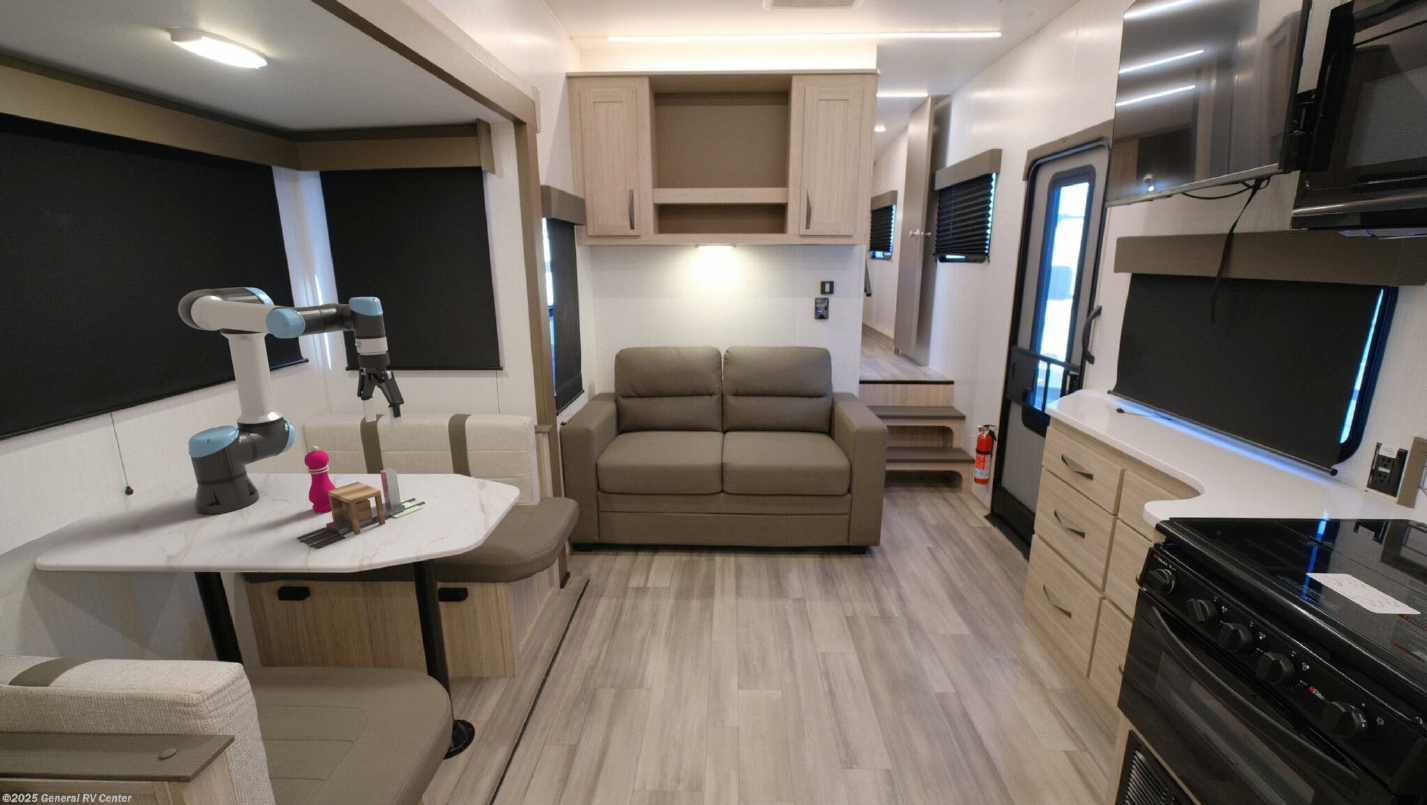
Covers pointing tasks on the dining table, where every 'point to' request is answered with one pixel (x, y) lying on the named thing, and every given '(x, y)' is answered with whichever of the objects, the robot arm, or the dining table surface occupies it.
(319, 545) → the flat slatted panel
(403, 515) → the pad
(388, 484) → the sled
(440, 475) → the dining table surface
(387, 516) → the rails
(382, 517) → the tunnel
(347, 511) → the block
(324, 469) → the pepper mill
